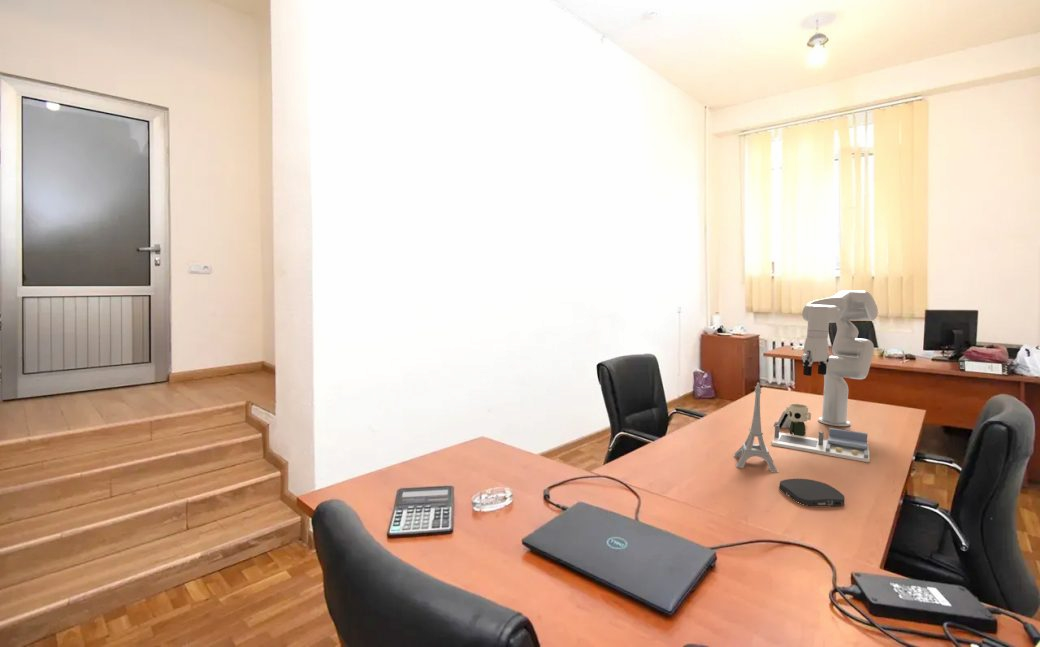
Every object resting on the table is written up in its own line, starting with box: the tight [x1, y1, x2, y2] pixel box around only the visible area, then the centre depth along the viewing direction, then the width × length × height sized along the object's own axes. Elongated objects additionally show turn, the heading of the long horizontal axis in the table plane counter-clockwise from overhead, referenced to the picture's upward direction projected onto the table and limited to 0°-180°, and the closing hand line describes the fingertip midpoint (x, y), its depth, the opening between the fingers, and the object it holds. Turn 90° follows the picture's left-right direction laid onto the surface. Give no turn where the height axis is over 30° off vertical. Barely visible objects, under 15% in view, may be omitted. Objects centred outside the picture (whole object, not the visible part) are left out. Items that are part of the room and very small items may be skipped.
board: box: [771, 425, 870, 463], centre depth 190 cm, size 16×32×6 cm, turn 54°
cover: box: [827, 427, 869, 449], centre depth 187 cm, size 8×12×4 cm, turn 54°
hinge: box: [773, 409, 792, 429], centre depth 220 cm, size 17×5×10 cm, turn 123°
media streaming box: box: [778, 478, 845, 507], centre depth 147 cm, size 15×15×3 cm
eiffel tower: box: [733, 382, 779, 473], centre depth 172 cm, size 13×13×30 cm
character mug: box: [785, 403, 812, 436], centre depth 205 cm, size 11×7×13 cm, turn 26°
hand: (814, 374), depth 201 cm, fingers open, 9 cm apart
